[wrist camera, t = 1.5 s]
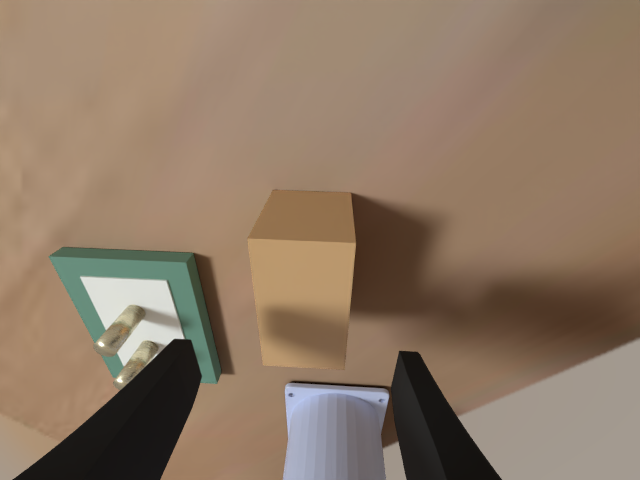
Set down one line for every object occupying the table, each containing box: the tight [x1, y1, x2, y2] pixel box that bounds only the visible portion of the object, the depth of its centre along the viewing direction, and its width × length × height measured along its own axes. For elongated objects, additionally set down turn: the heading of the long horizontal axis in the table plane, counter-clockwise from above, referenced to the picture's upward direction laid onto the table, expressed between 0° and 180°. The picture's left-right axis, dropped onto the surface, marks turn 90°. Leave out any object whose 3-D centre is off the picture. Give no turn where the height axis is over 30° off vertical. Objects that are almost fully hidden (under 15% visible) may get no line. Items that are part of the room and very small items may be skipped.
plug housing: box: [247, 190, 356, 370], centre depth 15 cm, size 7×4×5 cm, turn 179°
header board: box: [49, 247, 221, 390], centre depth 19 cm, size 11×8×4 cm
